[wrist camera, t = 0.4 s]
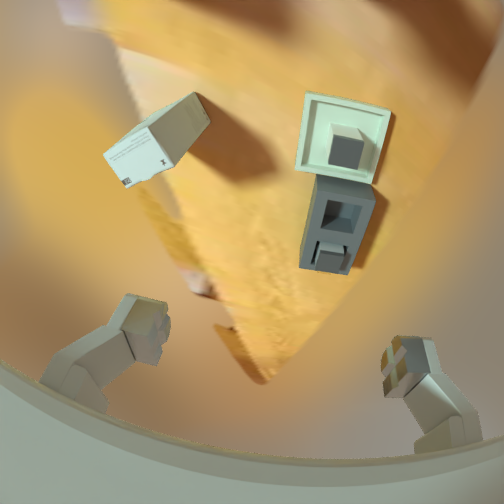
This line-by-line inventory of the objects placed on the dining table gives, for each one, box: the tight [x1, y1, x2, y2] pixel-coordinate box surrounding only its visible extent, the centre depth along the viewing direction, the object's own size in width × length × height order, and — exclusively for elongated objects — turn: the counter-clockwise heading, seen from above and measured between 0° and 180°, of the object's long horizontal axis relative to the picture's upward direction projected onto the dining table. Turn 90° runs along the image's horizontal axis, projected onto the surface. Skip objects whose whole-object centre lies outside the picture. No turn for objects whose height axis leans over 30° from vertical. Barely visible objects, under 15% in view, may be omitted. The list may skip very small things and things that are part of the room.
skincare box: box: [103, 92, 211, 188], centre depth 36 cm, size 8×6×15 cm
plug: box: [325, 122, 364, 170], centre depth 37 cm, size 4×4×6 cm
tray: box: [295, 91, 391, 184], centre depth 39 cm, size 12×12×2 cm
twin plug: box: [315, 241, 344, 274], centre depth 49 cm, size 4×4×6 cm
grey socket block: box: [299, 174, 376, 275], centre depth 47 cm, size 16×9×6 cm, turn 176°
